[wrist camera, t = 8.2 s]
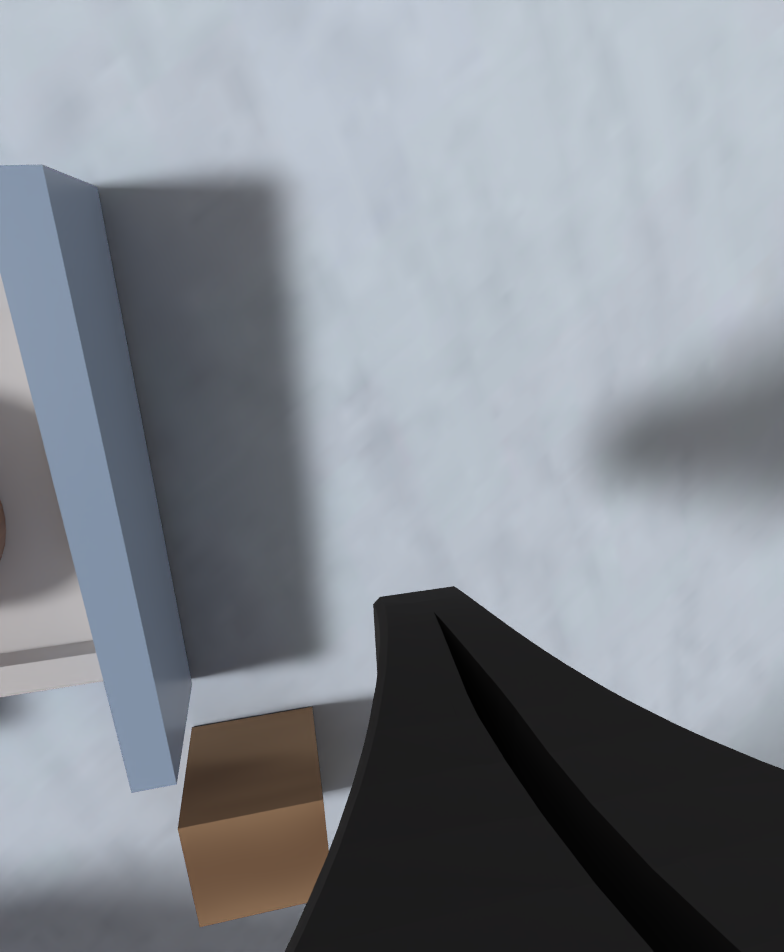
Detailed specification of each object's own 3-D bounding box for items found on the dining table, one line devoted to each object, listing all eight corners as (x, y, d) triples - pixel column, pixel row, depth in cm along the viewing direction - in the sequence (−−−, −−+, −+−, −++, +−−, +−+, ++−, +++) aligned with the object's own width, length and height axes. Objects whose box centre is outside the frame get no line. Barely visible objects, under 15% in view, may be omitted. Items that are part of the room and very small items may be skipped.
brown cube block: (321, 793, 20) (333, 896, 17) (209, 816, 20) (199, 927, 16) (312, 707, 19) (323, 799, 16) (191, 727, 18) (177, 828, 15)
